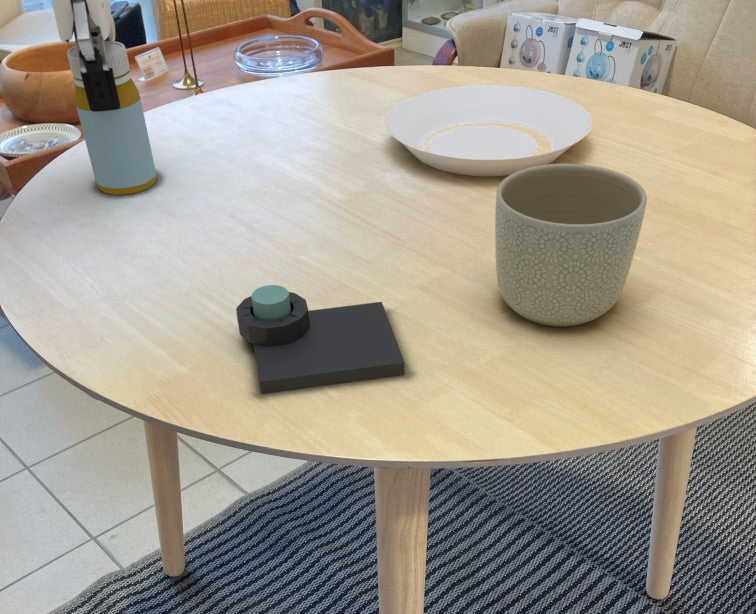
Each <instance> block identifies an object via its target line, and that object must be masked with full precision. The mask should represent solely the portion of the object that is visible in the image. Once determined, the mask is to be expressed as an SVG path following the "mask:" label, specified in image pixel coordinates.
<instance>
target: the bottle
mask: <svg viewBox="0 0 756 614" xmlns="http://www.w3.org/2000/svg"><path fill="white" fill-rule="evenodd" d="M104 43H105V49H106V54H107V60H108V65H109V68H112V70H113V75H114V79H115V83H116V88H117V92H118V96H119V101H120V108H119V109H118V110H108V111H98V112H93V111H91V110H90V108H89V104H88V100H87V96H86V92H85V88H84V84H83V80H82V76H81V67H80V62H79V57H78V52H77V47H76V45H74V46H72V47H70V48H69V49H68V50H67V52H66V58H67V60H68V64H69V67H70V71H71V75H72V78H73V82H74V85H75V86H74V102H75V107H76V111H77V116H78V118H79V122H80V126H81V130H82V134H83V138H84V141H85V145H86V150H87V153H88V156H89V161H90V164H91V169H92V172H93V176H94V180H95V182H96V186H97V188H98V190H100V191H101V192H103V193H105V194H107V195H112V196H127V195H134V194H138V193H141V192H144V191H147V190H149V189H150V188H152V187H153V186H154V185H155V184H156V182H157V179H158V177H157V176H158V175H157V171H156V166H155V162H154V156H153V152H152V147H151V141H150V138H149V133H148V128H147V123H146V118H145V114H144V109H143V103H142V99H141V96H140V92H139V89H138V87H137V85H136V83H135V82H134V80H133V79H132V72H131V69H130V62H129V61H130V60H129V57H128V52H127V47H126V46H125V44H124V43H122V42H119V41H116V40H115V41H114V40H112V41H104ZM94 47H97V48H98V50H99V45H94ZM99 54H100V52H99Z"/></svg>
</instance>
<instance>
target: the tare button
mask: <svg viewBox="0 0 756 614" xmlns="http://www.w3.org/2000/svg"><path fill="white" fill-rule="evenodd" d="M289 292H290V291H289V290H288V289H287V288H286V287H284V286H281V285H276V284H269V285H263V286H260V287H258V288H255V290H253V292H252V293H251V295H250V296H251V298H252V305H253V311H254V315H255V317H256V318H257V319H262V320H277V319H281V318H283V317H286V316H288V315H289V314H290V312H291V307H290V299H289Z"/></svg>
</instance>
